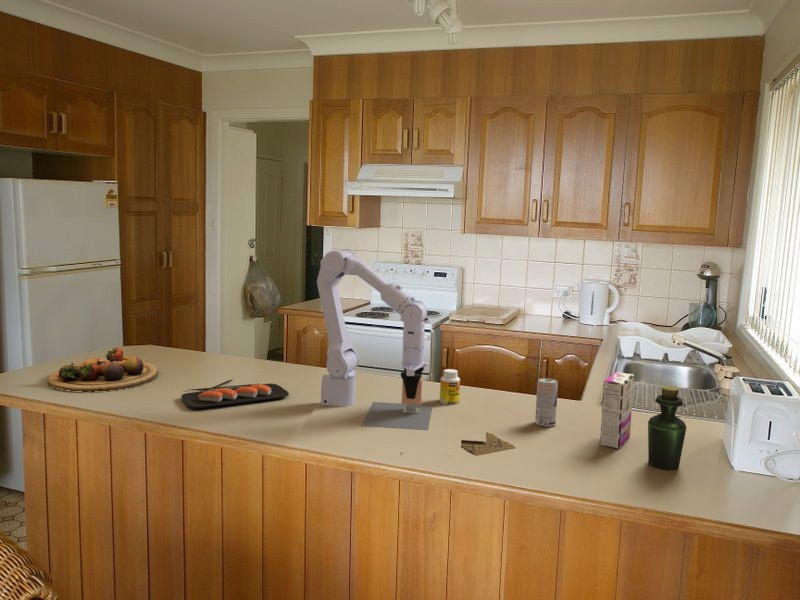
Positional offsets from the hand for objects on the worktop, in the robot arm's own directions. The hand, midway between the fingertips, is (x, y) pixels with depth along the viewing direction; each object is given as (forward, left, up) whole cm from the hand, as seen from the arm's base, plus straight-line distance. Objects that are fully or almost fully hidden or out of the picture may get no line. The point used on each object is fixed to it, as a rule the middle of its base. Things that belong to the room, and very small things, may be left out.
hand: (411, 395), depth 181 cm
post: (0, 0, -4) cm, 4 cm away
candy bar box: (+52, -11, -6) cm, 53 cm away
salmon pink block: (0, 0, -2) cm, 2 cm away
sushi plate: (-56, +11, -6) cm, 58 cm away
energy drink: (+36, -1, -6) cm, 36 cm away
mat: (-3, -4, -6) cm, 7 cm away
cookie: (+19, -19, -6) cm, 28 cm away
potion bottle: (+60, -25, -6) cm, 65 cm away
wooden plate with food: (-99, +18, -6) cm, 101 cm away
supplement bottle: (+10, +11, -6) cm, 16 cm away
